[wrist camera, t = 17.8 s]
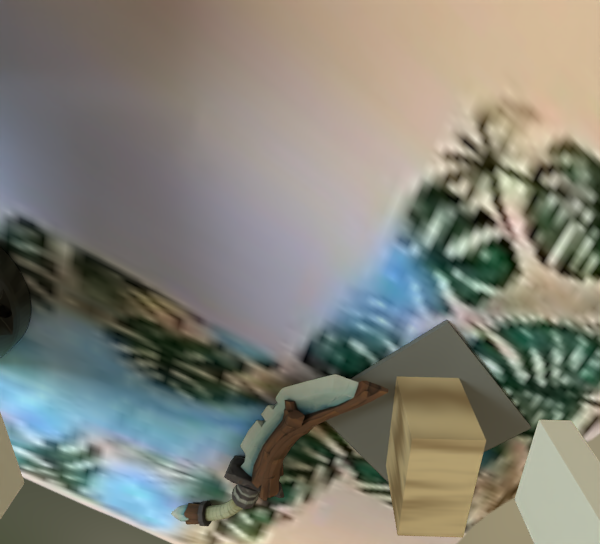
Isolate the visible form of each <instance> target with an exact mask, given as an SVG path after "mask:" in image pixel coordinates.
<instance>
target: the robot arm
mask: <svg viewBox="0 0 600 544" xmlns="http://www.w3.org/2000/svg"><path fill="white" fill-rule="evenodd" d="M30 316H31V301H30V295H29V292H28V288H27V285H26V283H25V281H24V278H23V276H22V274H21V273H20V271H19V269H18V268H17V266H16V265H15V263H14V262H13V261H12V259H11V258H10V257H9V256H8V255H7V253H6V252H5V251H4V250H3V249H2V248H1V247H0V358H1V357H3V356H4V355H5V354H6V353H7V352H8V351H9V350H10V349H11V348H12V347H13V346H14V345H15V344H16V343H17V342H18V341H19V340H20V339H21V338H22V336H23V335H24V333H25V332H26V330H27V327H28V325H29V321H30ZM23 484H24V480H23V477H22V474H21V471H20V468H19V466H18V463H17V460H16V457H15V454H14V451H13V448H12V445H11V442H10V439H9V436H8V433H7V430H6V427H5V425H4V422H3V419H2V416H1V413H0V519H1V517H2V516H3V514H4V513H5V511H6V510H7V508H8V507H9V505H10V504H11V502H12V501H13V499H14V498H15V496H16V495H17V493H18V492H19V490H20V489H21V487H22V486H23ZM515 501H516V504H517V506H518V508H519V511H520V513H521V515H522V517H523V519H524V522H525V524H526V526H527V529H528V531H529V533H530V535H531V538H532V540H533V542H534V544H600V462H599V460H598V459H597V457H596V456H595V455H594V453H593V451H592V450H591V449H590V447H589V446H588V444H587V443H586V441H585V440H584V438H583V437H582V435H581V434H580V433H579V431H578V430H577V428H576V427H575V425H574V424H573V422H572V421H565V420H539V421H538V424H537V428H536V431H535V434H534V437H533V441H532V444H531V447H530V450H529V454H528V457H527V460H526V464H525V467H524V470H523V473H522V477H521V480H520V483H519V486H518V490H517V493H516V496H515Z"/></svg>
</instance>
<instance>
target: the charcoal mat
mask: <svg viewBox="0 0 600 544" xmlns="http://www.w3.org/2000/svg"><path fill="white" fill-rule="evenodd" d="M397 377H440V378H459V379H460V382H461V384H462V386H463V388H464V391H465V393H466V395H467V398H468V400H469V402H470V404H471V407H472V409H473V411H474V414H475V416H476V418H477V420H478V423H479V425H480V427H481V430H482V432H483V434H484V437H485V439H486V444H485V448H484V452H485V451H487V450H489V449H491V448H493V447H495V446H497V445H499V444H501V443H503V442H505V441H507V440H509V439H511V438H513V437H515V436H517V435H519V434H521V433H523V432H525V431H527V430H529V429H531V426H530V424H529V423H528V422H527V421H526V419H525V418H524V417H523V416H522V414H521V413H520V412H519V410H518V409H517V408H516V407H515V405H514V404H513V403H512V402H511V400H510V399H509V398H508V397H507V395H506V394H505V393H504V391H503V390H502V389H501V388H500V386H499V385H498V384H497V383H496V381H495V380H494V379H493V378H492V376H491V375H490V374H489V373H488V371H487V370H486V369H485V367H484V366H483V365H482V364H481V362H480V361H479V360H478V359H477V357H476V356H475V355H474V354H473V352H472V351H471V350H470V348H469V347H468V346H467V345H466V343H465V342H464V341H463V340H462V338H461V337H460V336H459V335H458V333H457V332H456V331H455V329H454V328H453V327H452V326H451V324H450V323H449V322H448V321H447V320H446V321H444V322H443V323H441V324H439V325H438V326H436V327H434V328H433V329H431V330H429V331H428V332H426V333H425V334H423V335H421V336H420V337H418V338H416V339H415V340H413V341H412V342H410V343H408V344H407V345H405V346H403V347H402V348H400V349H399V350H397V351H395V352H394V353H392V354H390V355H389V356H387V357H385V358H384V359H382V360H381V361H379V362H377V363H376V364H374V365H372V366H371V367H369V368H368V369H366V370H364V371H363V372H361V373H359V374H358V375H356V376H354V377H353V378H351V379H350V380H353V381H356V382H360V381H369V382H371V383H374V384H377V385H380V386H382V387H384V388H387V389H388V393H386V394H384V395H382V396H381V397H379V398H377V399H375V400H373V401H372V402H369V403H367V404H365V405H363V406H361V407H359V408H356V409H353V410H351V411H348V412H345V413H342V414H340V415H338V416H335V417H333V418H331V419H328V420H326V421H327V422H328V423H329V424H330V425H331V426H332V427H333V428H334V429H335V430H336V431H337V432H338V433H339V434H340V435H341V436H342V437H343V438H344V439H345V440H346V441H347V442H348V443H349V444H350V445H351V446H352V447H353V448H354V449H355V450H356V451H357V452H358V453H359V454H360V455H361V456H362V457H363V458H364V459H365V460H366V461H367V462H368V463H369V464H370V465H371V466H372V467H373V468H374V469H375V470H376V471H377V472H378V473H379V474H380V475H381V476H382V477H383V478H384V479H385V480H386V481H387V482H389V481H388V475H387V469H386V461H387V453H388V444H389V436H390V428H391V419H392V411H393V403H394V394H395V386H396V378H397Z"/></svg>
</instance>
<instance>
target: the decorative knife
mask: <svg viewBox="0 0 600 544" xmlns="http://www.w3.org/2000/svg"><path fill="white" fill-rule="evenodd" d="M386 393H388V389H387V388H384V387H382V386H380V385H377V384H374V383H371V382H369V381H360V382H356V381H353V380H350V379H347V378H345V377H342V376H339V375H336V374H334V375H330V376H326V377H322V378H318V379H314V380H309V381H305V382H302V383H298V384H295V385H291V386H287V387H284V388H282V389H281V390H280V392H279V393H278V395H277V396H276V399H275V400H276V401H277V403H276V404H275V405H268V406H267V407H266V409H265V410H264V411H263V412H262V414H261V415H262V416H263V418H264V419H265V420H264V421H260V420H256V422H255V423H254V424H253V426H252V427H251V428H250V429H249V431H248V433H247V434H246V436H245V438H244V440H243V442H242V443H241V445H240V446H241V448H242V449H243V451H244V453H245V454H246V457H245V459H244V458H241V457H238V456H234V458H233V459H232V460H231V462H230V464H229V467H228V469H227V471H226V474H225V476H224V477H225V478H226V479H228V480H230V481H231V482H233V483H236V484H237V485H236V486H235V488H234V489H233V492H232V499H231V500H230V501H229V502H227V503H225V504H221V505H213V506H212V505H211V503H210V502H208V501H203V502H202V503H201V504H192V503H188V505H183V506H179V507H178V508H176V509H175V510H174V511H173V512H172V513H171V514H172V515H173V516H174V517H175V518H177V519H178V520H180V521H186V524H200V526H209V524H210V523H211V521H213V520H221V519H225V518H229V517H230V516H232V515H234V514H236V513H237V512H239V511H240V510H242V509H249V508H252V507H253V505H254V504H255V503H256V501H257V499H258V495H259V497H260V498H261V499H263V500H264V501H266V500H267V497H269V498H270V497H273V496H276V497H278V498H283V497H284V494H283V490H282V486H281V483H280V482H279V479H280V476H282V475H283V460H284V458H285V456H286V455H287V453H288V452H289V450H290V448H291V447H292V446H293V445H294V444H295V442H296V441H297V440H298V439H299V438H300V437H301V436H303V435H305V434H307V433H308V432H309V431H310V430H311V429H312V428H313V427H314V426H316V425H318V424H320V423H322V422H324V421H326V420H328V419H331V418H333V417H335V416H338V415H340V414H342V413H345V412H348V411H351V410H353V409H356V408H359V407H361V406H363V405H365V404H367V403H369V402H372V401H373V400H375V399H377V398H379V397H381V396H382V395H384V394H386Z"/></svg>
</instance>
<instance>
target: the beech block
mask: <svg viewBox="0 0 600 544" xmlns="http://www.w3.org/2000/svg"><path fill="white" fill-rule="evenodd" d="M485 444H486V439H485V437H484V434H483V432H482V430H481V427H480V425H479V423H478V420H477V418H476V416H475V414H474V411H473V409H472V407H471V404H470V402H469V400H468V398H467V395H466V393H465V391H464V388H463V386H462V384H461V382H460V379H459V378H440V377H397V378H396V386H395V394H394V403H393V411H392V419H391V428H390V436H389V444H388V453H387V461H386V469H387V475H388V481H389V487H390V493H391V498H392V504H393V510H394V516H395V522H396V528H397V534H398V535H405V536H437V537H463V535H464V531H465V527H466V523H467V518H468V514H469V510H470V506H471V502H472V498H473V494H474V489H475V485H476V481H477V477H478V473H479V469H480V464H481V460H482V456H483V452H484V448H485Z"/></svg>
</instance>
